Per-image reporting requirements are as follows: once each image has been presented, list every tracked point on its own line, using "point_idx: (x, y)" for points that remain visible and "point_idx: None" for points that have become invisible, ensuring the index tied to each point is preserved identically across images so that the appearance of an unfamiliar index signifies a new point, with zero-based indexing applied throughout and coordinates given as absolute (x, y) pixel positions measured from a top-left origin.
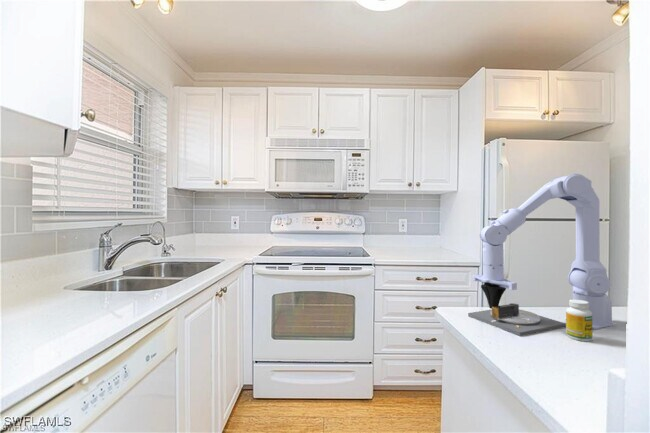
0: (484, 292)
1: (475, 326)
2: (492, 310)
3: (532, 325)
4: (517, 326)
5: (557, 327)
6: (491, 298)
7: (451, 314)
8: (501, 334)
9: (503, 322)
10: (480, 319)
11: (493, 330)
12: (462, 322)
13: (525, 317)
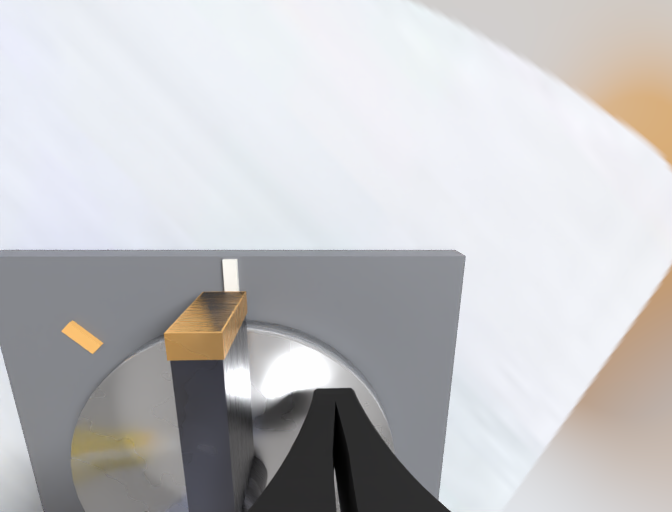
0: (423, 492)
1: (260, 118)
2: (226, 315)
3: None
4: (74, 330)
5: None
6: (308, 453)
7: (551, 163)
8: (62, 162)
9: None
10: (339, 252)
11: (147, 176)
12: (371, 94)
13: (155, 486)
